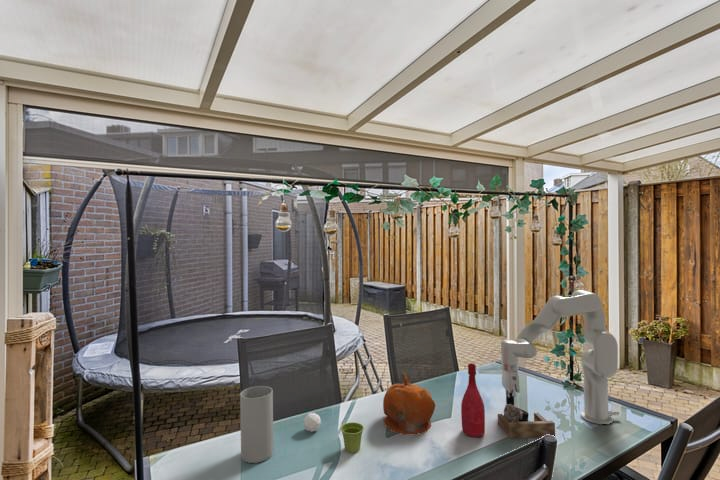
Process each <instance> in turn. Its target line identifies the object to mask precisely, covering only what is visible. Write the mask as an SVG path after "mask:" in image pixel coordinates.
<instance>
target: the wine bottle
mask: <svg viewBox="0 0 720 480" xmlns="http://www.w3.org/2000/svg"><path fill="white" fill-rule="evenodd" d="M467 374H468V382H467V386H466V390H465V392H464V394H463V397H462V400H461V407H460V410H461V412H460V415H461V429H462V432H463V433H464V434H465V435H466V436H469V437H472V438H480V437H482V436H483V435H485V431H486V427H485V426H486V419H485V418H486V415H485V414H486V412H485V404H484V400H483V398H482V395H481V394H480V390H479V389H478V386H477V381H476V375H477V366H476V364H475V363H473V362H471V363H468V364H467Z"/></svg>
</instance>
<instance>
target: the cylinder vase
mask: <svg viewBox="0 0 720 480" xmlns="http://www.w3.org/2000/svg"><path fill="white" fill-rule="evenodd" d="M239 398H240V401H239V402H240V404H239V406H240V408H239V409H240V411H239V413H240V459H242V461H243V462H245V463H247V462H248V463H249V464H259V463H262V462H264V461H267V460H269V458H271V457H272V456H273V454H274V450H275V449H274V391H273V388H272V387H270V386H266V385H256V386H251V387H248V388H245V389H243V390H242V391H241V392H240V393H239Z"/></svg>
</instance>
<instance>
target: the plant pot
mask: <svg viewBox="0 0 720 480" xmlns="http://www.w3.org/2000/svg"><path fill="white" fill-rule="evenodd" d="M340 431H341V433H342V437H343V445H344V450H345V451H346V452H347V453H354V454H355V453H358V452H359V451H360V449H361V442H362V436H363V432H364V425H363V424H361V423H359V422H345V423H343V424H342V425H341V427H340Z"/></svg>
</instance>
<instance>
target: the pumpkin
mask: <svg viewBox="0 0 720 480" xmlns="http://www.w3.org/2000/svg"><path fill="white" fill-rule="evenodd" d="M402 378H403V381H404V382H401V383H396V382H395V383H394V384H391V385H390V386H389V388H388V389H387V390H386V392H385V393H384V396H383V401H382V402H383V403H382V405H383V407H382V408H383V414H384V415H385V418H384V420H383V421H384V422H383V423H385V424H384V426H385V428H387V429H388V430H389V429H390V430H389V431H391V430H392V431H391V432H393V431H394V432H393V433H396V432H397V433H396V434H399V433H402V434H401V435H405V434H414V435H419V434H418V433H420V434H423V433H425V431H426V432H427V431H429V430H430V429H431V427H432V422H431V421H432V420H431V419H432V416H433V415H434V412H435V408H436V403H435V400H434V399H433V398H432V396H431V393H430V391H429V390H428V389H426V388H422V387H421V386H419V385H417V384H412V383H411V380H410V378H409V376H408V375H407V373H406V371H402ZM428 429H429V430H428ZM422 432H423V433H422Z"/></svg>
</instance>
